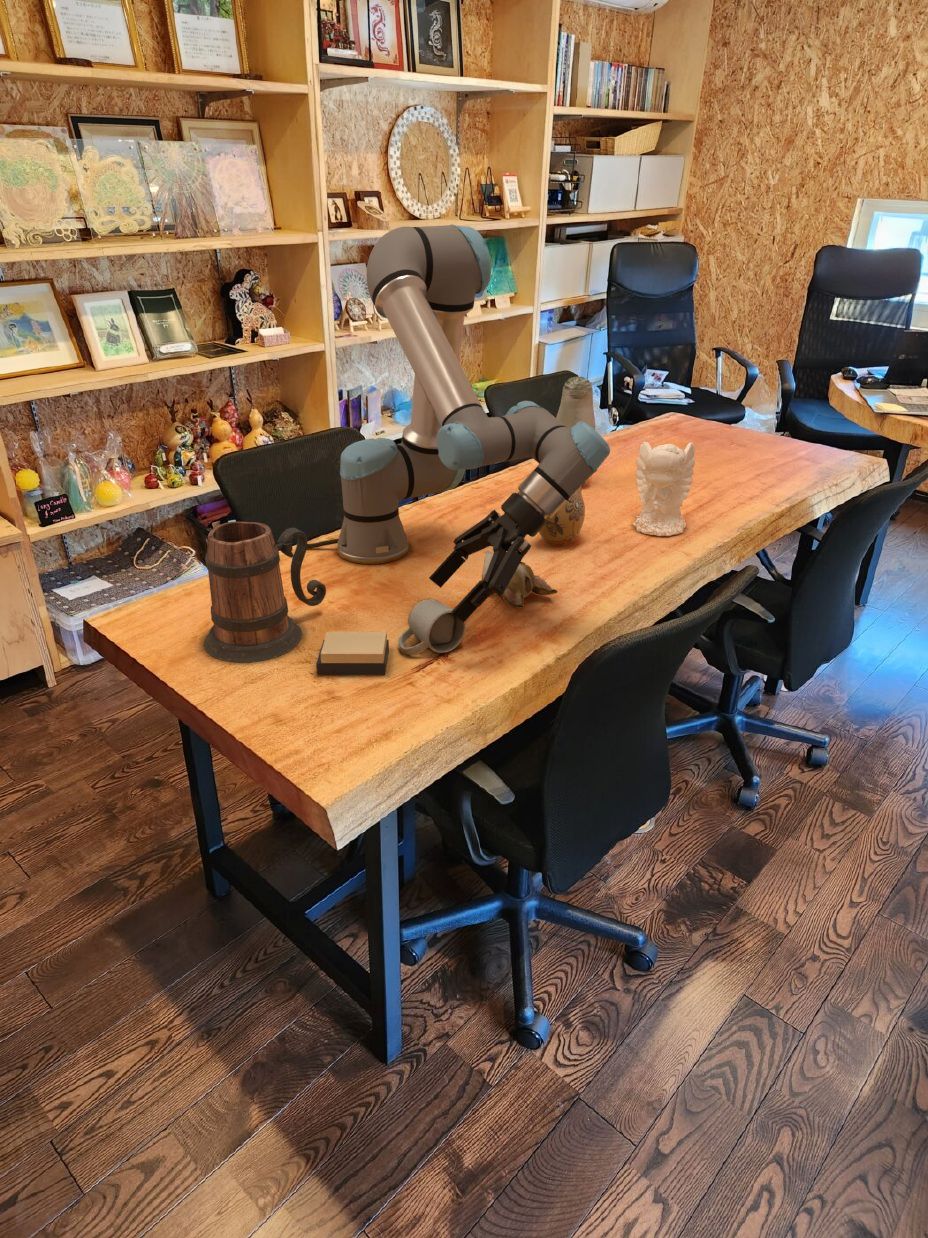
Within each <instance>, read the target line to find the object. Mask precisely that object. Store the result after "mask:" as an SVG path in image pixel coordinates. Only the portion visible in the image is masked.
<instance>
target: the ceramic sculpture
mask: <svg viewBox="0 0 928 1238" xmlns="http://www.w3.org/2000/svg"><path fill="white" fill-rule="evenodd" d="M493 554H494V552H492V551H491V550H486V552H485V555H484V559H483V567H482V572H481V580H484V577H485V575H486V572H487V569H488V567H489V564H490V562H491V559H492V556H493ZM499 586H500V585H499ZM558 592H559V591H558V590H557V589H554V588H552V587H551V586H550V585H549V584H548V582H547V581H546V580H545V579H544V578H541V576H539V575H535V573H534V570H533V569H532V566H529V565H528V564H526V562H523V561H521V562H520V564H519V566H518V568H517V569H516V571H515V573H514V575H513V577H512V579H511V580H510V582H509V584H508V586H507V588H506V590H505V591H504V593H503V595H501V597H502V599H503V601H504V602H505V603H506V604H507V605H508V606H510V607H513V608H520V609H523V608H524V603H525V598H527V597H528V596H529V595H530V594H531V593H533V594H536V595H539V596H549V595H554V594H557V593H558Z"/></svg>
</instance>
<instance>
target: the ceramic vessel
mask: <svg viewBox="0 0 928 1238" xmlns="http://www.w3.org/2000/svg"><path fill="white" fill-rule="evenodd" d="M582 486H583V484H582V485H581V486H580V487H579V488H578V489H577V490H576V491H575V492H574V494H573V495H572V496H571V497H570V498H569V499H568V501H566V502H565V504H564V505H563V506H562V508H561V509H560V510H558V511H557V512H556V513H555V514H554V516H553V517H552V518H548V517H547V518H545V520H546V521H547V522H546V525H545V526H544V527H543V528H542V529H541V530H540V531H539V532H538V534H539V535H540V537H541V538H542V539H543V541H545V542H546V543H547V544H549V545H551V546H554V547H555V546H556V547H561V546H566V545H567V544H569V543H571V542H572V541H573V540H574V539H575V538H576V537H577V536H578V535H579V533H580V532H581V530H582V528H583V525H584V521H585V518H586V506H585V500H584V497H583V494H582V488H583V487H582Z"/></svg>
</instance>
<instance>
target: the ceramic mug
mask: <svg viewBox="0 0 928 1238" xmlns="http://www.w3.org/2000/svg"><path fill="white" fill-rule="evenodd" d="M453 609H454V608H452V607H450V606H448V605H446V604H444V603H443V602H441V601H439V600H437V599H433V598H424V599H422V600H420V601H417V603H414V605H413V607H412V608H411V610H410V612H409V613H408V617H407V624H408V628H407V629H405V630H404V632H402V633H401V635H399V637H398V640H397V644H398V647H399V648H400V650H401V652H402V653H403V654H405V655H407V656H414V655H417V654H420V653H422V652H423V651H425V650H427V649H430V650H431V651H432V652H434V653H437V654H446V653H449V652H451V651H453V650H455V649H456V648H457V647H458V646H459V645H460V644H461V642H462V641H463V639H464V636H465V633H466V621H465V622H463V621H461V620H460V619H459V618H458V617H456V616H455V615H454V614H453V613H452V612H451V611H452V610H453ZM412 635H413V636H415V637H416V638H417V639H418V640H420V641H421V642H420V643H417V644H416V645H413V646H410V647H406V644H405V643H406V641H407V640H408V639H410V638H411V637H412Z"/></svg>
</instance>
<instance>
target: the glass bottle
mask: <svg viewBox="0 0 928 1238" xmlns="http://www.w3.org/2000/svg"><path fill="white" fill-rule="evenodd" d="M593 396H594V390H593V385H592V382H591V381H590V380H589V379H588V378H586V377H584V376H573V377H569V378H568V379H567V380H566V381H565V383H564V385H563V387H562V394H561V399H560V405H559V408H558V412H557V414H556V417H555V418H556V419H558V420H559V421H560V422H561V423H563V424H564V425H565V426H566V427H568V428H570V429H571V427H573V426H575V425H576V424H577V423H578V422H580V421H581V422H584V423H586V424H588V425H589V426H591V427H592V428H593V429H594V430H595V431H596V417H595V410H594V397H593ZM585 483H586V481H585V482H584V483H583V484H585Z"/></svg>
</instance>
